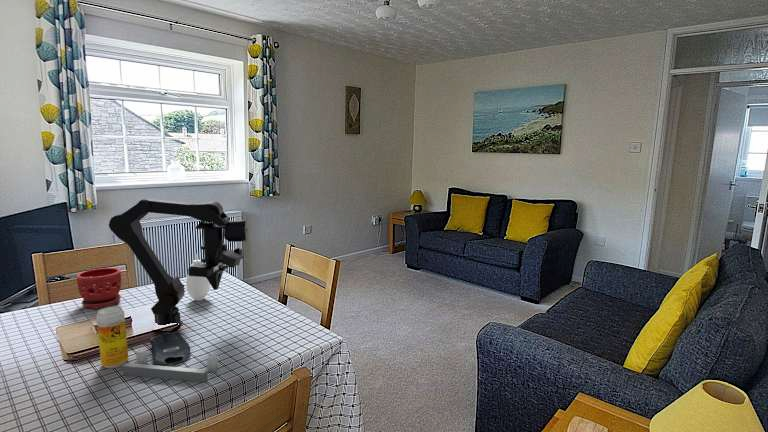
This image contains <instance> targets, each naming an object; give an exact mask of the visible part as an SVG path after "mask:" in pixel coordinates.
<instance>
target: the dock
mask: <svg viewBox="0 0 768 432" xmlns="http://www.w3.org/2000/svg"><path fill="white" fill-rule="evenodd" d="M135 358H136V363H132V362H126V363H125V364H123V365H121V371H122V376H128V377H129V376H133V377H141V378H154V379H161V380H162V379H163V380H165V379H166V380H171V381H172V380H173V381H183V382H184V381H185V382H193V383H196V382H197V383H206V382H207V381H208V376H209V375H208V373H215V372H217V371H218V370H219V367H218V355H216V354H211V355H208V356H207V358H206V360H207V369H203V368H202V369H201V368H200V369H198V368H189V367H188V368H187V367H178V366H169V365H158V364H156V365H155V364H154V365H153V364H148V353H147V349H145V348H141V349H138V350H136V351H135Z"/></svg>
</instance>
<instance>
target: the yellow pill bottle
mask: <svg viewBox="0 0 768 432" xmlns="http://www.w3.org/2000/svg"><path fill="white" fill-rule="evenodd" d="M125 318H126V317H125V311H124V310H123V308H122V307H121V306H118V305H117V306H112V305H111V306H107V307H105V308H103V307H102V308H100V309H99V310H98V311H97V314H96V327H97V329H96V330H97V335H98V336H97V337H98V346H99V354H100V364H101V366H103V367H104V368H106V369H115V368H119V367H122V365H124V364H125V363H127V361H128V360H129V351H128V350H129V347H128V338H127V331H126V330H127V328H126V319H125Z"/></svg>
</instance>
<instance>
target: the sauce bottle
mask: <svg viewBox="0 0 768 432" xmlns="http://www.w3.org/2000/svg"><path fill="white" fill-rule="evenodd" d="M197 263H199V264H203V262H202V259H198V253H196V254H195V259H194V260H193V261H192V263H191V265H190V267H191V266H193V265H195V264H197ZM186 275H187V276H186V281H185V282H186V290H187V293H188V295H189V296H190V298H191V299H193V300H194V301H198V302H200V301H203V300H204V299H205V298H206V297H207V296H208V295H209V292H210V288H211V284H210V283H209V281H208V280H207V278H206V277H197V276H189V275H188V274H186Z"/></svg>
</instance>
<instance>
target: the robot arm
mask: <svg viewBox="0 0 768 432" xmlns="http://www.w3.org/2000/svg"><path fill="white" fill-rule="evenodd" d="M149 213H152V214H161V215H162V214H164V215H172V216H185V217H188V218H189V217H190V218H193V219H195V220H198V221H200V222H199V223H198V224H197V225H196V226H195V229H196V230H202V237H203V239H202V240H203V245H200V250H201V251H202V250H203V254H204V257H202V258H201V263H202V264H199V263H197V264H195V265H193V266H191V265H190V266H189V268H188V269H187V275H189V276H197V277H206V278H207V280H208V281H209V283H210V287H212V288H213V290H214V291H217V290H219V286H220V284H221V280H222V277H223V273H224V272H225V271H226V270H227V269H228V268H231V269H233V268H235V267H236V266H239V265H240V263H241V260H242V259H244V256H243V255H244V254H243V249H242V248H240V247H237V248H235V249H234V250H233V249H228V245H227V243H224V240H226V241H227V242H228V243H230V242H231V243H233V242H235V243H236V242H239V243H241V242H248V240H249V239H248V238H249V228H248V224H247V220H246V219H241V220H231V219H230V217H229V216H228V215H227V214H226V213H225V211H224V208H223V206H222V205H221V203H220V202H219V201H211V200H210V201H201V202H200V201H199V202H186V201H184V202H183V201H175V200H164V199H155V198H152V197H146V198H144V199H141V200H139V201H138V202H137V203H136V204H134V205H133V206H132V207H130V208H129V209H128V210H126V211H123V212H121V213H118V214H117V215H114V216H112V217H111V218H110V219H109V222H108V227H109V230H110V231H111V232H112V233H113V234H114V235H115V237H117V238H118V239H119V240H121V241H122V242H124V243H125V244H126V245H128V246H129V248H130V250H131V251H132V253H133V254H134V257H136V258H137V260H138V262H139V263H140V265H141V266H142V268H143V269H144V271H145V272H146V274H147V275H148V277H149V278H150V279H151V280H150V281H152V282H153V285H154V291H155V296H156V297H157V299H158V301H157V302H155V304H154V305H153V306H152V307H151V312H152V314H153V316H154V324H155V323H157V324H158V325H166V324H170V323H179V325H180V326H181V325H182V324H184V323H183V321H181V313H180V312H181V311H180V310H179V307H177V305H178V304H179V303H180V302H181V300H182V299H183V298H184V296H185V292H186V290H185V287H186V286H185V284H183V283H182V282H181V279H180V277H179V276H176V277H172V276H171V275H170V274H168V272H167V271H166V269H165V267H164V266H163V264H162V262H161V261H160V260H159V258H158V257H157V255H156V253H155V252H154V250H153V249H152V247H151V245H150V244H149V243H148V241H147V240H146V238H145V235H144V232H143V225H142V223H141V221H140V220H142V219H143V218H145V217H146V215H148V214H149ZM179 311H180V312H179Z"/></svg>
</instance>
